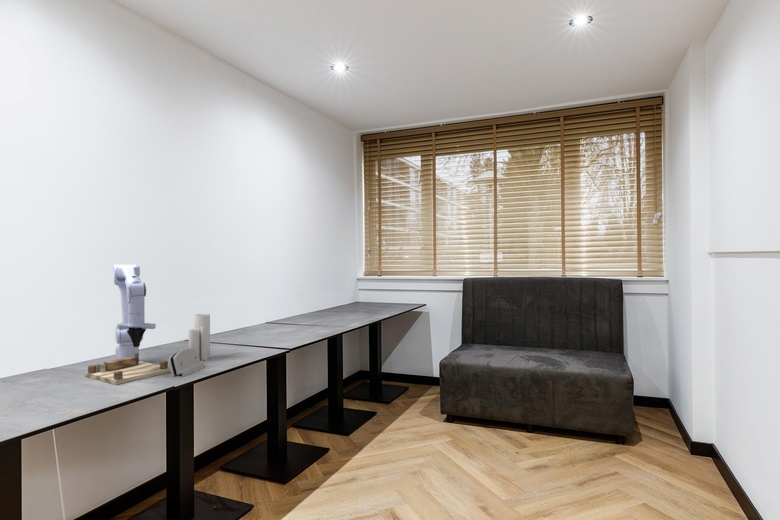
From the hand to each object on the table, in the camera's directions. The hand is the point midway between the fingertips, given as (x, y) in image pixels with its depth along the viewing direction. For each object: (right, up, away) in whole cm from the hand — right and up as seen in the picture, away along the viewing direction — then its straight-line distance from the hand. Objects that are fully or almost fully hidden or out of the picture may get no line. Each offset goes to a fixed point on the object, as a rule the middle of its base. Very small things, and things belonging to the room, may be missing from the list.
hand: (136, 346), depth 182 cm
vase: (+16, -10, +23) cm, 30 cm away
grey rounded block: (+19, -11, +2) cm, 22 cm away
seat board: (-2, -10, -2) cm, 11 cm away
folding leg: (-7, -9, +1) cm, 11 cm away
